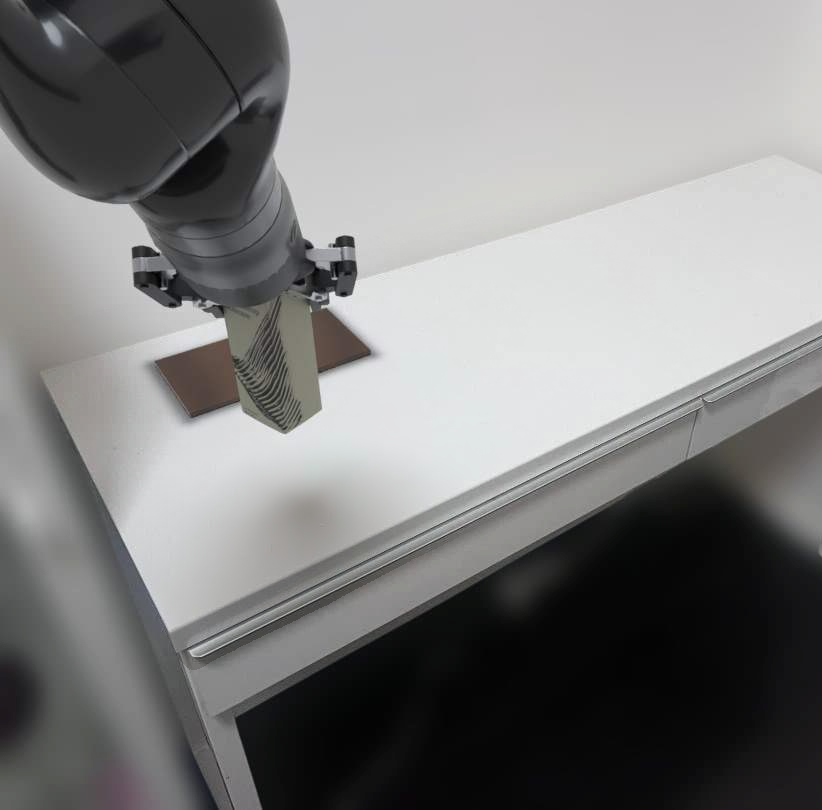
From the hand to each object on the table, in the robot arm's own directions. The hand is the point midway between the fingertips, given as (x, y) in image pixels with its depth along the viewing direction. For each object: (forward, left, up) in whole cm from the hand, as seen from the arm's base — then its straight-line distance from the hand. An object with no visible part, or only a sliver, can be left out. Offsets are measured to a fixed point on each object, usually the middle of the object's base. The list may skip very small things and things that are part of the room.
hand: (268, 301), depth 61 cm
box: (-1, -1, -10) cm, 10 cm away
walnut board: (+5, +21, -19) cm, 29 cm away
